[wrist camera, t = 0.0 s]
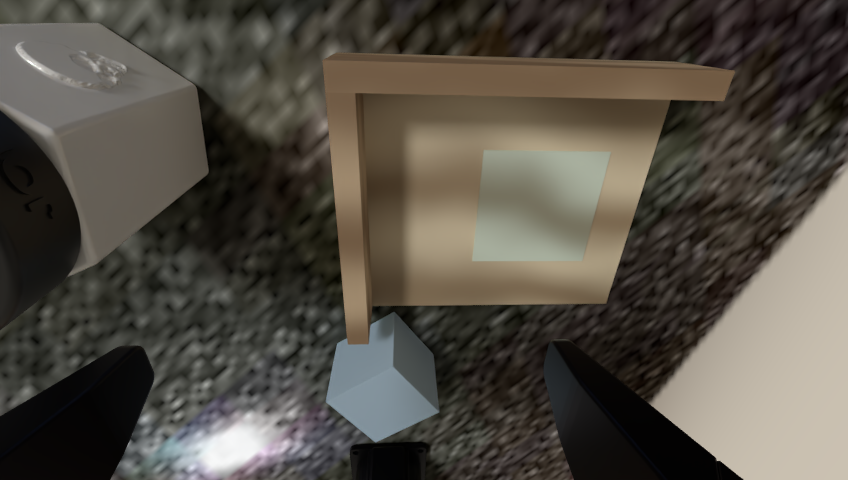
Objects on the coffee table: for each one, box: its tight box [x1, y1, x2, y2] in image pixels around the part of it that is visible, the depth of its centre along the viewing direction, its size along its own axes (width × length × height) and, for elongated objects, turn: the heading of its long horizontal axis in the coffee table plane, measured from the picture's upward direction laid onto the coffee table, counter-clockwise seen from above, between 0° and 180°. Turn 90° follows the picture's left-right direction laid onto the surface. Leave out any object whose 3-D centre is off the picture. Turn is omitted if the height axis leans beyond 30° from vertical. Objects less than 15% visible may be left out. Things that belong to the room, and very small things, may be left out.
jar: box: [0, 23, 209, 330], centre depth 15 cm, size 9×8×12 cm
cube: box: [326, 312, 439, 442], centre depth 27 cm, size 5×5×5 cm
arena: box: [323, 53, 735, 345], centre depth 21 cm, size 15×17×4 cm
